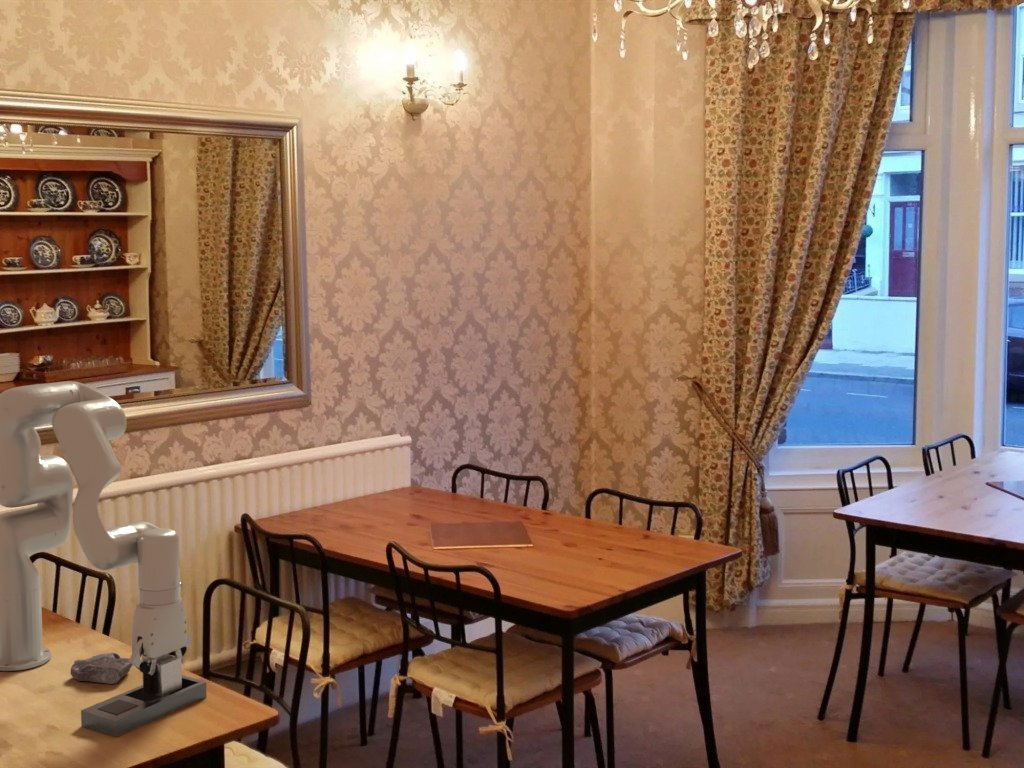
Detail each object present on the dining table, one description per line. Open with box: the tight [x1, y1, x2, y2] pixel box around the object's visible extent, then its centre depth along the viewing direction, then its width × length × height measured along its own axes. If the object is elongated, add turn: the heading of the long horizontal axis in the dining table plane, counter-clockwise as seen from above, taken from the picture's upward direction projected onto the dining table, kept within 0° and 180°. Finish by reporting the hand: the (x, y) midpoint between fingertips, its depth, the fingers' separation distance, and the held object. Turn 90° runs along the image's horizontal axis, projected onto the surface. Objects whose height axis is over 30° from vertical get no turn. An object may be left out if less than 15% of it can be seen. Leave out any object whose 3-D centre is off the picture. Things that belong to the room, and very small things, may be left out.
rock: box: [70, 652, 133, 685], centre depth 235 cm, size 8×11×5 cm
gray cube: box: [143, 654, 183, 696], centre depth 222 cm, size 5×5×6 cm
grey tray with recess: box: [80, 674, 207, 738], centre depth 219 cm, size 9×22×3 cm, turn 150°
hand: (162, 687), depth 222 cm, fingers closed on gray cube, 5 cm apart
